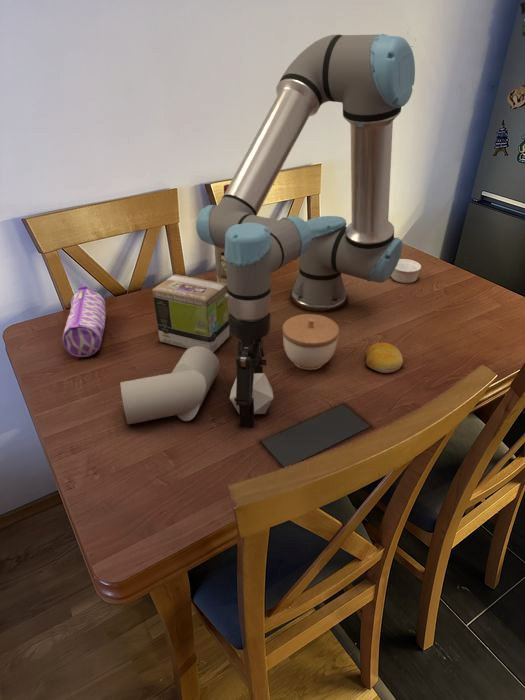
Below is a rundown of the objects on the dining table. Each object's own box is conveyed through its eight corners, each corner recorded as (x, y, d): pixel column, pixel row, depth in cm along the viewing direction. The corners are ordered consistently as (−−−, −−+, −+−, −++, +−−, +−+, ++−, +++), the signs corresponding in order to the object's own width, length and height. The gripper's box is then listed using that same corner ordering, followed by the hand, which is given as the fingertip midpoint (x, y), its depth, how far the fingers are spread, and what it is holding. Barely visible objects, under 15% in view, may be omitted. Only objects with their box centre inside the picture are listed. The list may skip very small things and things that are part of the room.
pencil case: (73, 317, 132) (65, 285, 127) (108, 313, 134) (102, 281, 129) (66, 363, 114) (56, 328, 109) (107, 357, 116) (99, 323, 111)
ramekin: (422, 284, 147) (424, 271, 145) (392, 284, 147) (394, 271, 145) (414, 271, 154) (417, 258, 152) (386, 271, 155) (388, 258, 152)
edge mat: (285, 469, 87) (285, 468, 87) (261, 442, 92) (261, 441, 92) (369, 427, 95) (369, 426, 95) (343, 404, 101) (343, 404, 101)
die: (258, 433, 95) (284, 390, 93) (218, 410, 94) (244, 367, 92) (258, 417, 104) (282, 378, 102) (221, 396, 103) (245, 356, 101)
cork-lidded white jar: (321, 383, 107) (324, 341, 101) (271, 366, 113) (272, 325, 106) (344, 355, 116) (349, 315, 110) (298, 340, 122) (299, 301, 115)
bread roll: (365, 372, 110) (367, 358, 108) (365, 351, 118) (367, 336, 115) (403, 376, 109) (405, 361, 107) (401, 354, 116) (403, 340, 114)
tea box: (230, 336, 124) (228, 283, 115) (211, 356, 116) (206, 301, 108) (180, 323, 129) (174, 271, 121) (158, 342, 121) (150, 288, 113)
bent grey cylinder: (199, 440, 91) (229, 376, 107) (182, 395, 86) (216, 335, 102) (118, 440, 97) (158, 380, 113) (97, 398, 91) (142, 341, 107)
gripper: (241, 283, 97) (244, 373, 110) (213, 344, 79) (221, 444, 91) (278, 285, 96) (277, 376, 109) (259, 348, 78) (260, 448, 90)
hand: (252, 407), depth 100 cm, fingers closed on die, 10 cm apart
